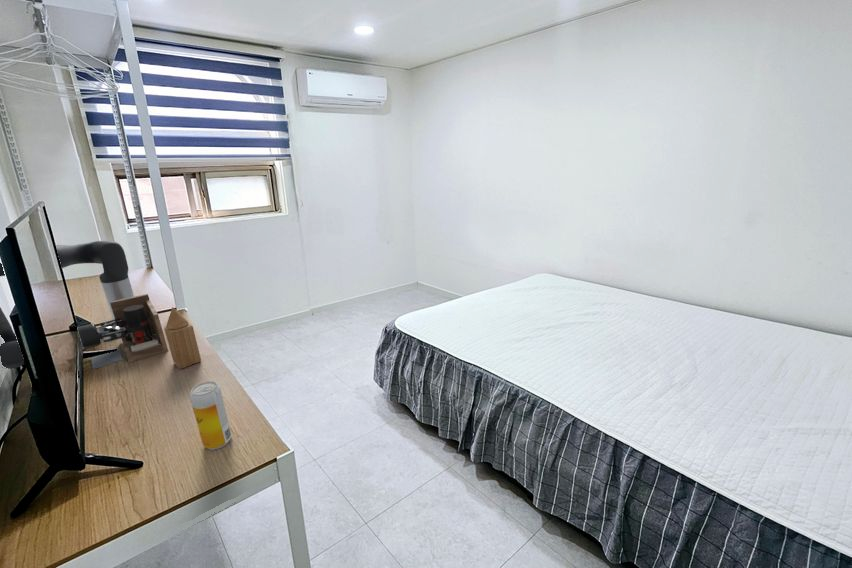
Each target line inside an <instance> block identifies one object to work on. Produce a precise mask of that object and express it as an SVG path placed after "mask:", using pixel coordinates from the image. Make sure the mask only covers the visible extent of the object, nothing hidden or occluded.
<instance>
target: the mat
mask: <svg viewBox="0 0 852 568" xmlns="http://www.w3.org/2000/svg"><path fill="white" fill-rule="evenodd" d="M122 355H123V354H122V351H121V349H118V350H114V352H113V351H110V353H109V352H107V353H103V354H99V355H95V356H92V357H90V360H91V368H92V370H95V369H98V368H101V367H102V368H103V367H106V366H109V365H112V364H116V363H118V362H122V361H124V359H123V356H122Z"/></svg>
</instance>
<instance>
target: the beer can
mask: <svg viewBox="0 0 852 568" xmlns="http://www.w3.org/2000/svg"><path fill="white" fill-rule="evenodd" d="M189 399H190V404H191V406H192V410H193V414H194V417H195V421H196V424H197V428H198V431H199V435H200V439H201V443H202V446H203V447H204V448H205V449H208V450H211V451H214V450H219V449H221V448H223V447H224V446H226V445H228V443H229V441H230V439H232V431H231V426H230V424H229V423H230V422H229V420H228V414H227V411H226V410H227V409H226V407H225V403H224V398H223V395H222V389H221V387H220V386H219V384H218V383H217V382H216V381H210V380H209V381H205V382H201V383H199V384H196V385H195V386H194V387H192V388H191V390H190V395H189Z"/></svg>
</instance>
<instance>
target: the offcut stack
mask: <svg viewBox="0 0 852 568" xmlns="http://www.w3.org/2000/svg"><path fill="white" fill-rule="evenodd" d="M156 345H160V342H159V340H158V338H156V339H153V340H152V341H148V342H145V343H141V344H137V345H134V344H133V345H131V346H130V352H131V353H132V352H135V351H139V350H142V349H146V348H149V347H153V346H156Z"/></svg>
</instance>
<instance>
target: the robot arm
mask: <svg viewBox="0 0 852 568" xmlns="http://www.w3.org/2000/svg"><path fill="white" fill-rule="evenodd" d="M55 245H56V248H57V252H58V256H59V259H60V262H61V267H62V268H61V269H65V268H68V267H70V266H73V265H79V264H80V265H81V264H98V265H99V264H100V265H102V269H103V272H102V273H101V274H99V281H100V283H101V287H102V290H103V292H104V296H105V299H106V301H107V306H108V309H109V311H110V314H111V318H112V320H111V319H110V320H108V321H102V322H101V323H99V325H100V326H99V327H98V326H97V325H96V324H95V323H92V322H91V323H89V324H88V323H87V324H84V325H80V326H76V327H77V330H78V334H79V337H80V341H81V346H82V350H84V349H88V348H93V347H96V346H99V345H101V343H102V341H101V340H103V342H104V343H109V342H112V341H115V340H116V341H117V340H119V339H121V338H125V337H126V335H128V334H129V333H133V332H137V331H140V330H141V327H140V325H139V324H137V325H133V326H129V327H127V328H126V327H124V326H125V325H126V326H128V325H127V322H126V319H125V320H123V319H121V318H118V319H115V317H114V314H113V311H112V308H111V305H110V302H111V301H116V300H120V299H125V298H130V297H134V296H135V294H134V290H133V287H132V284H131V280H130V278H129V266H128V265H129V264H128V261H127V257H126V252H125V250H124V247H122V245H121V244H120V243H118V242H116V241H111V240H110V241H109V240H108V241H107V240H98V241H97V240H96V241H91V242H87V243H78V244H72V245H70V244H68V245H67V244H66V245H65V244H55ZM0 277H6V276H5V274H4V271H3V267H2V264H1V263H0ZM122 327H124V328H122ZM0 335H1V337H2V338H3V339H4V341H5V343H3V344H1V346H0V356H1V362H2V365H3V366H4V367H6V368H5V369H7V368H8V369H7V370H9V369H17V368H19V367H21V366H23V365H24V364H25V363H24V359H23V356H22V352H21V350H20V347H19V344H18V342H17V339H16V336H17V335H16V333H15V331H14V330H13V328H12V325H11V323H10V322H9V320H8V318H7V317H6V315H5V313H4V311H3V309H2V307H0ZM15 335H16V336H15ZM121 340H122V339H121Z"/></svg>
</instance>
